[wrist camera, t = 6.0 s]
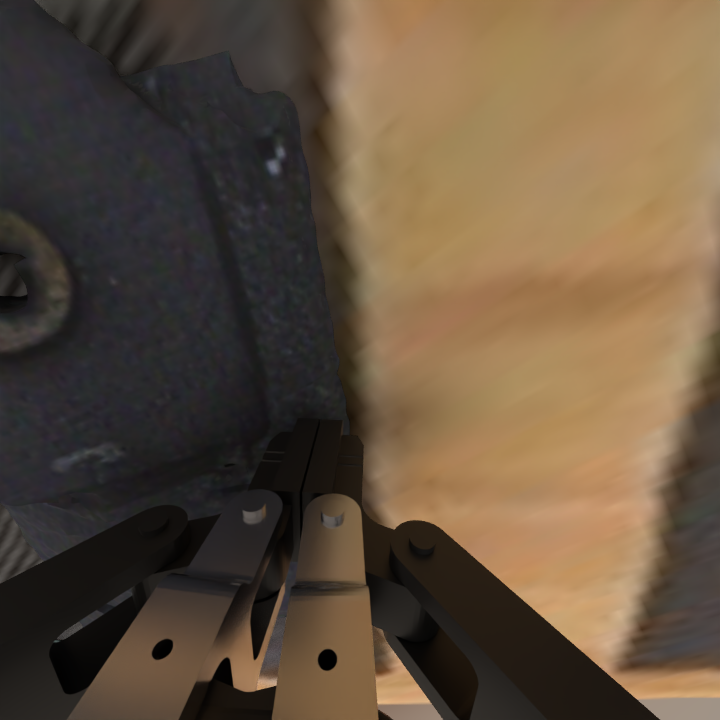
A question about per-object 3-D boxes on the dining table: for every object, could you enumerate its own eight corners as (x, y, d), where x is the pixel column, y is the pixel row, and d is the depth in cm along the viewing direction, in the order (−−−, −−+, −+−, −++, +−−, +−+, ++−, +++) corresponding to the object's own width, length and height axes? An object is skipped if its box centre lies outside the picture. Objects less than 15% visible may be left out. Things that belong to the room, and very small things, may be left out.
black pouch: (91, 605, 19) (4, 724, 14) (-197, 112, 11) (-579, 37, 7) (383, 583, 18) (387, 706, 13) (290, 16, 10) (224, -153, 5)
